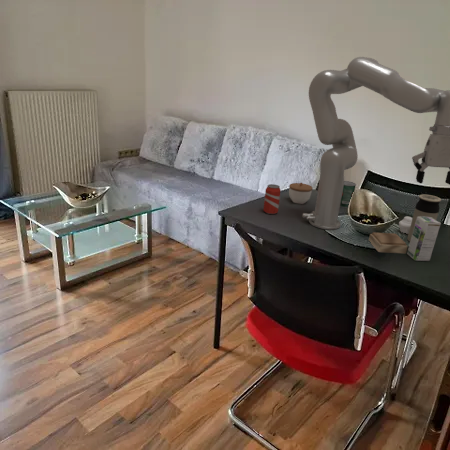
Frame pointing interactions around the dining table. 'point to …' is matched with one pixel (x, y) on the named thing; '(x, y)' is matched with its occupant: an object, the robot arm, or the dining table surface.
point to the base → (388, 243)
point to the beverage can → (272, 199)
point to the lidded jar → (300, 192)
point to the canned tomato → (347, 193)
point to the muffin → (405, 224)
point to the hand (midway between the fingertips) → (433, 183)
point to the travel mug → (425, 210)
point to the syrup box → (423, 238)
